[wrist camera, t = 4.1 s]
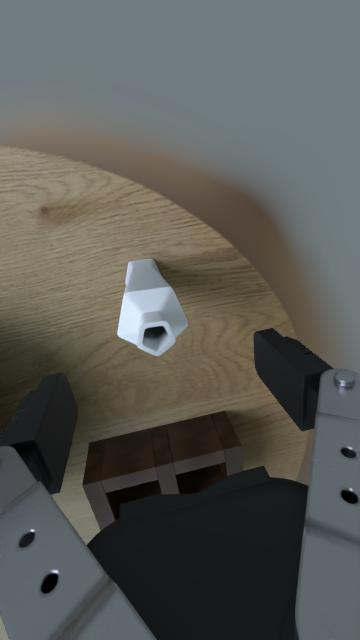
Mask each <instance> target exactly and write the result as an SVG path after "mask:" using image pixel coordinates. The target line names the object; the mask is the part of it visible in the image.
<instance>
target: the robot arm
mask: <svg viewBox="0 0 360 640" xmlns="http://www.w3.org/2000/svg"><path fill="white" fill-rule="evenodd" d="M254 359H255V368H256V371H257V374H258V376H259V377H260V379H261V380H262V381H263V382H264V384H265V385H266V386H267V388H268V389H269V390H270V391H271V393H272V394H273V395H274V397H275V398H276V399H277V400H278V402H279V403H280V404H281V406H282V407H283V408H284V409H285V411H286V412H287V413H288V414H289V416H290V417H291V418H292V420H293V421H294V422H295V423H296V425H297V426H298V427H299V429H300V430H301V431H305V430H309V429H313V428H314V438H313V447H312V457H311V467H310V476H309V486H307V485H305V484H302V483H299V482H296V481H293V480H288V479H284V478H273V477H269V475H268V473H267V471H266V469H265V467H264V466H261V467H257V468H254V469H250V470H246V471H242V472H239V473H235V474H231V475H229V476H227V477H225V478H223V479H222V480H220V481H218V482H216V483H214V484H213V485H211V486H209V487H207V488H206V489H204V490H202V491H200V492H198V493H195V494H156V495H152V496H148V497H145V498H141V499H137V500H133V501H130V502H126V503H122V504H120V509H119V519H117V520H115V521H113V522H112V523H111V524H109V525H108V526H106V527H105V528H104V529H103V530H101V531H100V532H99V533H98V534H97V535H96V536H95V537H94V538H93V539H92V540H91V541H90V542H89V543H88V544H87V546H86V544H85V543H84V541H83V540H82V539H81V537H80V536H79V534H78V533H77V532H76V530H75V529H74V527H73V526H72V525H71V523H70V522H69V520H68V519H67V518H66V516H65V515H64V513H63V512H62V511H61V509H60V508H59V506H58V505H57V504H56V502H55V501H54V499H53V498H52V496H51V495H52V494H55V493H59V492H60V490H61V486H62V482H63V477H64V473H65V469H66V465H67V460H68V456H69V452H70V448H71V444H72V439H73V435H74V431H75V427H76V422H77V418H78V409H77V404H76V401H75V398H74V395H73V393H72V390H71V387H70V384H69V382H68V379H67V376H66V374H65V373H64V372H61V373H56V374H52V375H47V376H43V377H42V379H41V381H40V383H39V385H38V387H37V389H36V391H31V392H30V393H29V394H28V395H27V396H26V397H25V398H24V399H23V400H22V401H21V402H20V404H19V406H18V407H17V409H16V413H14V415H13V417H12V418H11V421H10V422H9V424H8V426H7V428H6V429H5V431H4V433H3V435H2V437H1V438H0V615H1V617H2V620H3V623H4V626H5V629H6V632H7V635H8V638H9V640H360V374H359V373H357V372H354V371H351V370H346V369H333V368H332V367H331V366H330V365H328V364H327V363H326V362H325V361H323V360H322V359H321V358H319V357H318V356H317V355H316V354H314V353H312V351H310V350H309V349H308V348H306V347H305V346H304V345H303V344H301V343H300V342H299V341H297V340H295V339H292V338H289V337H283V336H282V335H280V334H279V333H278V332H277V331H276V330H274V329H273V328H270V329H266V330H261V331H256V332H255V333H254Z"/></svg>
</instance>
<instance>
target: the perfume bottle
mask: <svg viewBox="0 0 360 640" xmlns="http://www.w3.org/2000/svg"><path fill="white" fill-rule="evenodd" d="M125 284H126V289H125V293H124V296H123V302H122V308H121V314H120V320H119V326H118V332H117V333H118V336H119V337H120V338H122V339H125V340H127V341H129V342H131V343H134V344H136V345H137V347H138V348H139V349H141V350H143V351H146V352H148V353H150V354H152V355H155V356H160V355H161V354H163V353H164V352H165V351H166V350H167V349H168V348H170V347H171V346H172V345H173V344H174V343H175V342H176V338H175V337H177V336H178V335H179V334H180V333H181V332H182V331H183V330H185V329H186V328H187V327H188V321H187V319H186V317H185V315H184V312H183V310H182V308H181V306H180V304H179V301H178V299H177V297H176V295H175V293H174V290H173V289H172V288H171V286H170V285H169V284H168V283H167V282H166V281H165V279H164V278H163V277H162V276H161V274H160V272H159V270H158V268H157V265H156V263H155V261H154V260H153V259H143V260H135V261H130V262H129V263H128V269H127V275H126V281H125Z"/></svg>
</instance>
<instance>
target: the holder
mask: <svg viewBox="0 0 360 640" xmlns="http://www.w3.org/2000/svg"><path fill="white" fill-rule="evenodd" d="M242 471H243V461H242V448H241V444H240V442H239V440H238V437H237V435H236V433H235V431H234V429H233V427H232V425H231V423H230V420H229V418H228V416H227V414H226V412H225V411H222V412H218V413H214V414H211V415H206V416H202V417H197V418H193V419H189V420H185V421H181V422H176V423H172V424H168V425H167V426H166V425H164V426H160V427H155V428H152V429H147V430H143V431H138V432H134V433H130V434H126V435H122V436H117V437H113V438H109V439H104V440H100V441H96V442H92V443H89V449H88V455H87V461H86V467H85V473H84V479H83V485H82V486H83V488H84V491H85V493H86V496H87V498H88V500H89V503H90V505H91V508H92V510H93V512H94V515H95V517H96V520H97V522H98V525H99V527H100V529H101V530H103V529H104V528H105V527H106V526H108V525H109V524H111V523H112V522H113V521H115V520H117V519H119V509H120V504H122V503H126V502H130V501H133V500H137V499H141V498H145V497H148V496H152V495H156V494H195V493H198V492H200V491H202V490H204V489H206V488H207V487H209V486H211V485H213V484H214V483H216V482H218V481H220V480H222V479H223V478H225V477H227V476H229V475H231V474H235V473H239V472H242Z"/></svg>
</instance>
